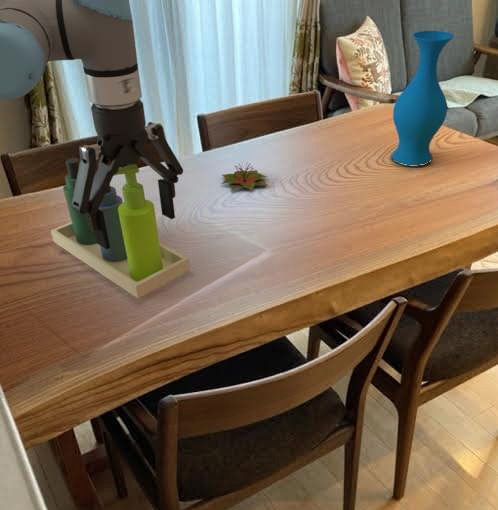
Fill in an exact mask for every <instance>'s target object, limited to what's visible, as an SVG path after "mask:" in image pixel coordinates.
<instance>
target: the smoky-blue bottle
mask: <svg viewBox="0 0 498 510" xmlns="http://www.w3.org/2000/svg"><path fill="white" fill-rule="evenodd" d="M95 175H96V172H95ZM95 175H94V177H95ZM122 203H124V200H123V197H121V196H120V195H118V194H117V190H116V187H114V186H111V183H110V184H109V187H108V189H107V191H106V193H105V196H104V198H103V200H102V202H101V205H100V207H99V210H101V211H103V214H104V219H105V224H106V229H107V234H108V239H109V244H110V248H108V249H105V248H103V247H102V246H100V249H101V253H102V257H103V259H104V260H106V261H109V262H120V261H123V260H126V259H127V254H126V249H125V243H124V238H123V233H122V228H121V223H120V218H119V213H118V207H119V206H120V205H121V204H122Z"/></svg>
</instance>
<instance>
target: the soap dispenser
mask: <svg viewBox="0 0 498 510" xmlns="http://www.w3.org/2000/svg"><path fill="white" fill-rule="evenodd" d="M139 173H140V169H139V166H138V164H129V165H127V166H125V167H123V168H122V167H119V169H118V172H117V173H116V174H114V175H113V177H114V176H119V175H124V177H125V183H126V184H124V185H122V187H121V191H122V198H123V203H122V204H121V205H120V206H119V207H118V213H119V218H120V223H121V228H122V233H123V238H124V243H125V249H126V254H127V259H128V264H129V269H130V274H131V277H132V278H133V279H134V280H136V281H141V280H143V279H145V278H147V277H149V276H151V275H152V274H154V273H156V272H158V271H160V270H162V269H163V264H162V257H161V251H160V244H159V242H160V238H159V231H158V224H157V218H156V211H155V205H154V202H153V201H151V200H150V199H149V200H148V199H146V197H145V189H144V185H143V184H142V183H139V182H138V179H137V174H139Z"/></svg>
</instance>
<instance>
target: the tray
mask: <svg viewBox="0 0 498 510" xmlns="http://www.w3.org/2000/svg"><path fill="white" fill-rule="evenodd" d="M50 234H51V237H52V240H53V242H54V243H55V244H56V245H57V246H59V247H61V248H62V249H64V250H65V251H67V252H68V253H70V254H71V255H73V256H74V257H75V258H77V259H78V260H80V261H81V262H83V263H84V264H86V265H87V266H89V267H90V268H92V269H93V270H95V271H96V272H98V273H99V274H101V275H102V276H103V277H105V278H106V279H108V280H110V281H111V282H112V283H114V284H115V285H117V286H118V287H120V288H122V289H123V290H124V291H126V292H128V293H129V294H130V295H132V296H133V297H135V298H136V299H140V298H142V297H144V296H145V295H148V294H149V293H152V292H153V291H155V290H156V289H159V288H161V287H162V286H164V285H165V284H167V283H169V282H172V281H173V280H175V279H178V278H179V277H180V276H182V275H184V274H186V273H188V272H189V271H190V260H189V257H186V256H185V255H183V254H181V253H180V252H178V251H176V250H174V249H172V248H170V247H169V246H167V245H165V244H163V243H162V242H160V241H159V244H160V251H161V257H162V264H163V269H162V270H160V271H158V272H156V273H154V274H152V275H151V276H149V277H147V278H145V279H143V280H141V281H136V280H134V279H133V278H132V277H131V274H130V269H129V264H128V259H126V260H123V261H120V262H109V261H106V260H104V259H103V257H102V253H101V249H100V245H99V244H97V243H96V244H93V245H82V244H79V243H78V242H77V240H76V236H75V232H74V229H73V225H72V221H70V222H68V223H65V224H63V225H60V226H58V227H56V228H54V229H51V230H50Z"/></svg>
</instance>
